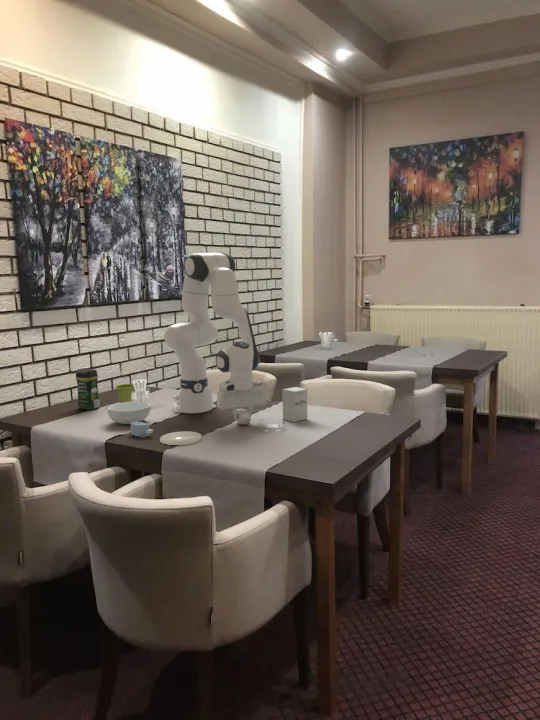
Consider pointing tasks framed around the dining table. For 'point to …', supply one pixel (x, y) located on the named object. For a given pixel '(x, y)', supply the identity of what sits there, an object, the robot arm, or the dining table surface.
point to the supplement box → (294, 404)
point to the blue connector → (140, 429)
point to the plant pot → (124, 392)
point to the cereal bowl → (129, 412)
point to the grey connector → (243, 416)
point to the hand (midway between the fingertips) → (242, 417)
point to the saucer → (181, 438)
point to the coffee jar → (87, 389)
